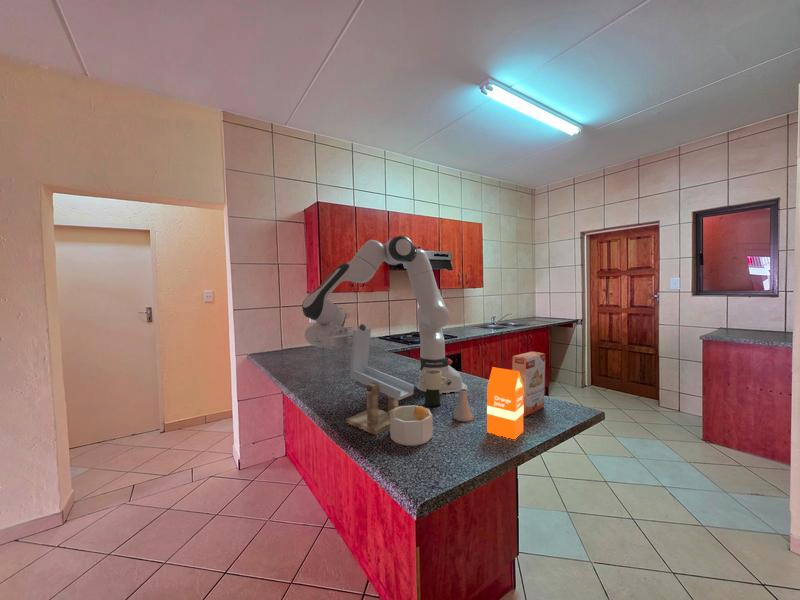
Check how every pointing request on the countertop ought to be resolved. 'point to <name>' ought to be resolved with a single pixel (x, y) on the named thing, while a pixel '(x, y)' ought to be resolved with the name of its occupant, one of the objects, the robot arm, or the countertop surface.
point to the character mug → (432, 385)
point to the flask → (463, 407)
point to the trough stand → (373, 413)
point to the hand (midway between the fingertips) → (360, 340)
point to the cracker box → (531, 379)
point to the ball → (420, 413)
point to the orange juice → (505, 403)
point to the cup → (410, 426)
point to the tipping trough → (370, 375)
